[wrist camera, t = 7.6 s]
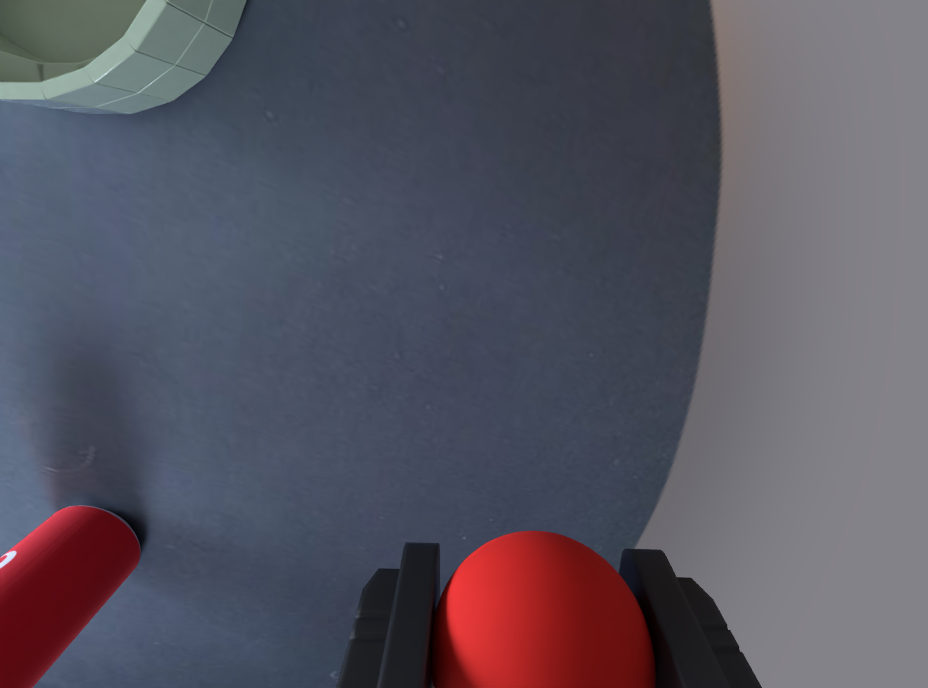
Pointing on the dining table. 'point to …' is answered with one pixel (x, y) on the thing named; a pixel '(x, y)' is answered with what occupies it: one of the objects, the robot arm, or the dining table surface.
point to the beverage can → (58, 586)
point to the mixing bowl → (110, 51)
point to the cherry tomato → (539, 620)
